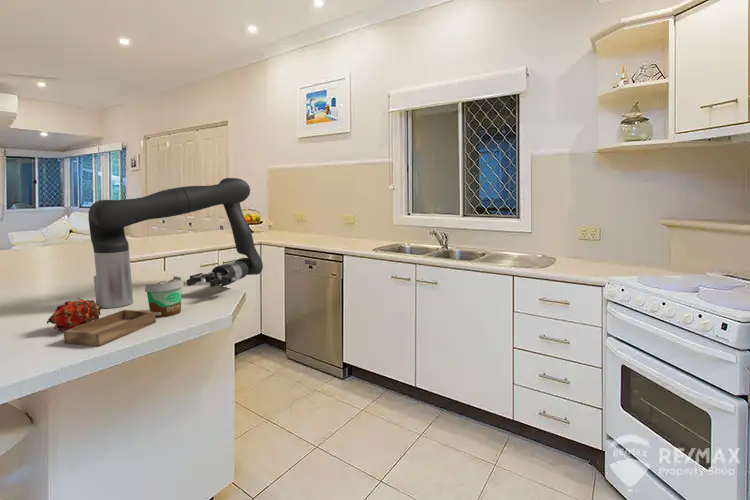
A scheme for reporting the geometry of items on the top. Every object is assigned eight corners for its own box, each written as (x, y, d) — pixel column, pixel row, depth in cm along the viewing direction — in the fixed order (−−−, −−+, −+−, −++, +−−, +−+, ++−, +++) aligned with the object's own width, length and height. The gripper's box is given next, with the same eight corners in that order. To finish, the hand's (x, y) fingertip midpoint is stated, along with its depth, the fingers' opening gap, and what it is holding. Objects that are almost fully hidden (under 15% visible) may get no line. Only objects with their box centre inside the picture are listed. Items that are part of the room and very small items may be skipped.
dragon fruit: (107, 328, 109) (55, 347, 100) (93, 307, 112) (41, 323, 103) (108, 308, 104) (53, 326, 95) (93, 286, 107) (38, 302, 98)
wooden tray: (64, 343, 94) (63, 331, 93) (125, 320, 111) (124, 309, 110) (99, 346, 92) (98, 334, 91) (155, 322, 109) (155, 311, 109)
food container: (166, 320, 111) (163, 285, 109) (146, 319, 112) (144, 284, 110) (194, 308, 123) (192, 276, 121) (176, 307, 124) (174, 276, 122)
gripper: (209, 263, 146) (179, 271, 130) (244, 264, 144) (218, 273, 128) (210, 283, 147) (181, 293, 132) (245, 284, 145) (219, 295, 129)
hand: (199, 283), depth 130 cm, fingers open, 8 cm apart
